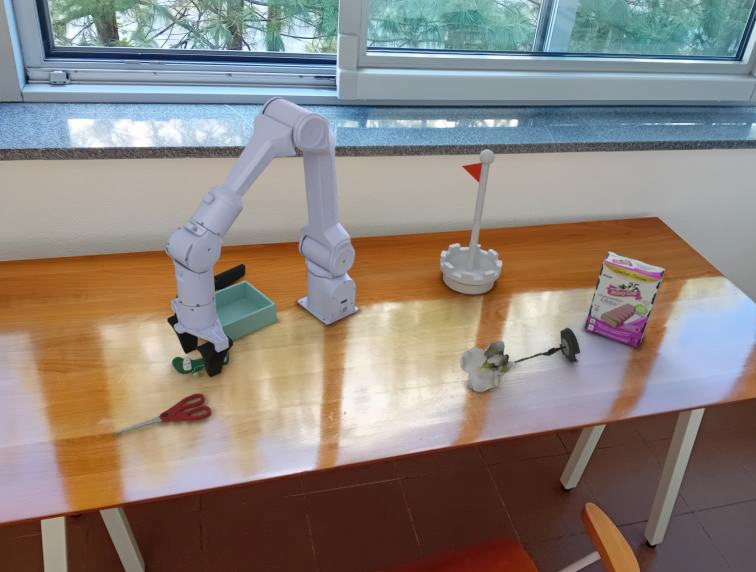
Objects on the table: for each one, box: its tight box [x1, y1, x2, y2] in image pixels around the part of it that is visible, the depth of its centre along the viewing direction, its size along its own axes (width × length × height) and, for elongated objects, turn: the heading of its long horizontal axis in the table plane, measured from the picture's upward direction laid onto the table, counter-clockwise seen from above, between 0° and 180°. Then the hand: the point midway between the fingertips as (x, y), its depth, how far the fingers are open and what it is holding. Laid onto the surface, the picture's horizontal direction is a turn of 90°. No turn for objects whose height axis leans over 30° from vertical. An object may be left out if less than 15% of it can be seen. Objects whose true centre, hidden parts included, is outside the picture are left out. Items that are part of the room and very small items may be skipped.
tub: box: [215, 279, 277, 341], centre depth 136 cm, size 10×13×4 cm
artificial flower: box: [459, 327, 581, 393], centre depth 131 cm, size 9×22×10 cm, turn 110°
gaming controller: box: [171, 352, 230, 376], centre depth 124 cm, size 9×4×6 cm
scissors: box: [115, 393, 212, 434], centre depth 114 cm, size 5×14×1 cm, turn 123°
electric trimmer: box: [175, 263, 246, 299], centre depth 144 cm, size 4×16×3 cm, turn 142°
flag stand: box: [439, 148, 503, 295], centre depth 149 cm, size 13×13×30 cm
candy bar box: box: [584, 251, 666, 349], centre depth 141 cm, size 11×5×16 cm, turn 65°
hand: (202, 362), depth 124 cm, fingers open, 7 cm apart
